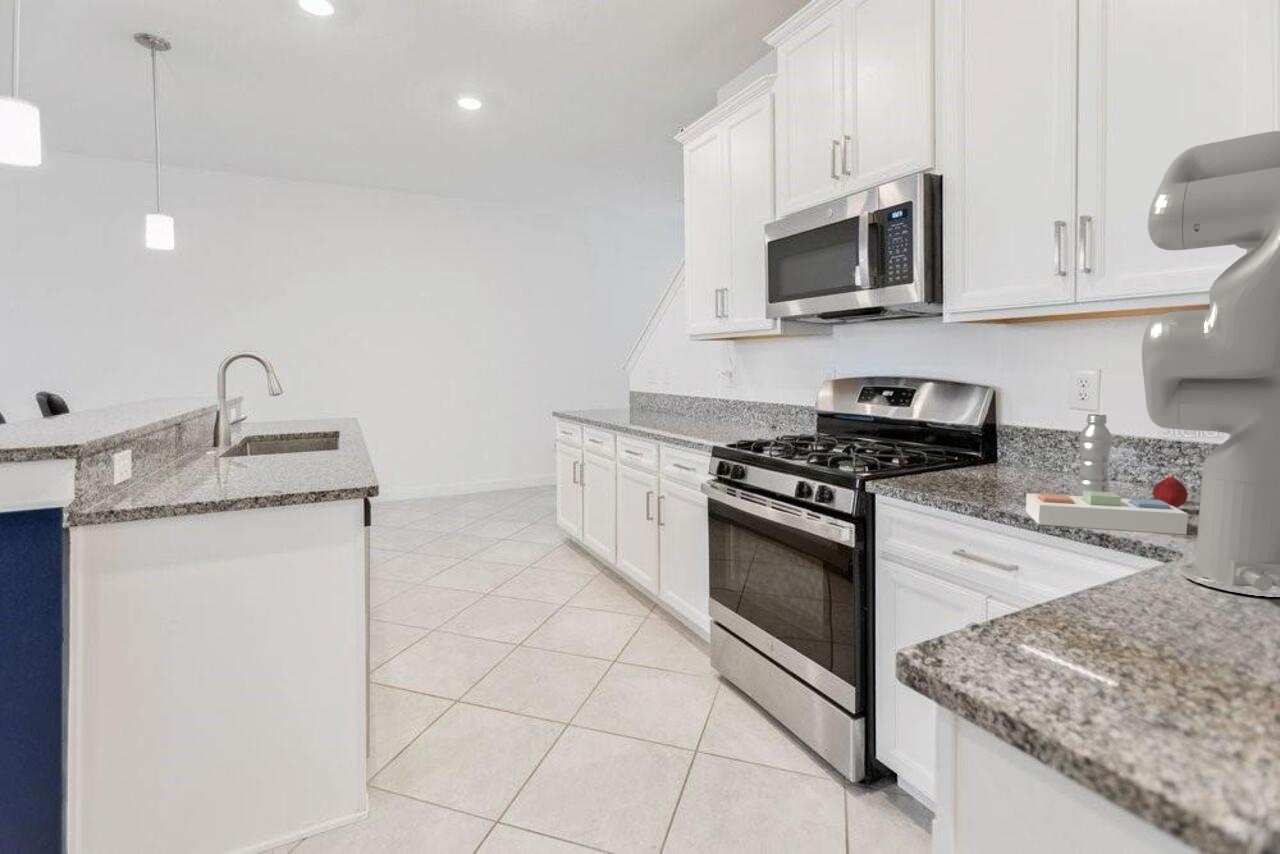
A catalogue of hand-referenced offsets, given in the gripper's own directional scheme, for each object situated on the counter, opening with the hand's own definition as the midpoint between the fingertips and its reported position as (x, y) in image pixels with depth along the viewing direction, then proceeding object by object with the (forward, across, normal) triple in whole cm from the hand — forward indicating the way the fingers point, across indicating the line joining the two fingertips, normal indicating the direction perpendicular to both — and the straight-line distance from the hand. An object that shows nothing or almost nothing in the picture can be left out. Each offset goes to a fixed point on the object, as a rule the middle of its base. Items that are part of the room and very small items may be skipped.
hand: (1264, 391), depth 109 cm
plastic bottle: (+27, +36, +14) cm, 47 cm away
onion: (+27, +28, +2) cm, 39 cm away
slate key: (+26, +12, +11) cm, 30 cm away
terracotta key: (+26, +12, +27) cm, 39 cm away
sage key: (+24, +12, +19) cm, 33 cm away
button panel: (+27, +12, +19) cm, 35 cm away
